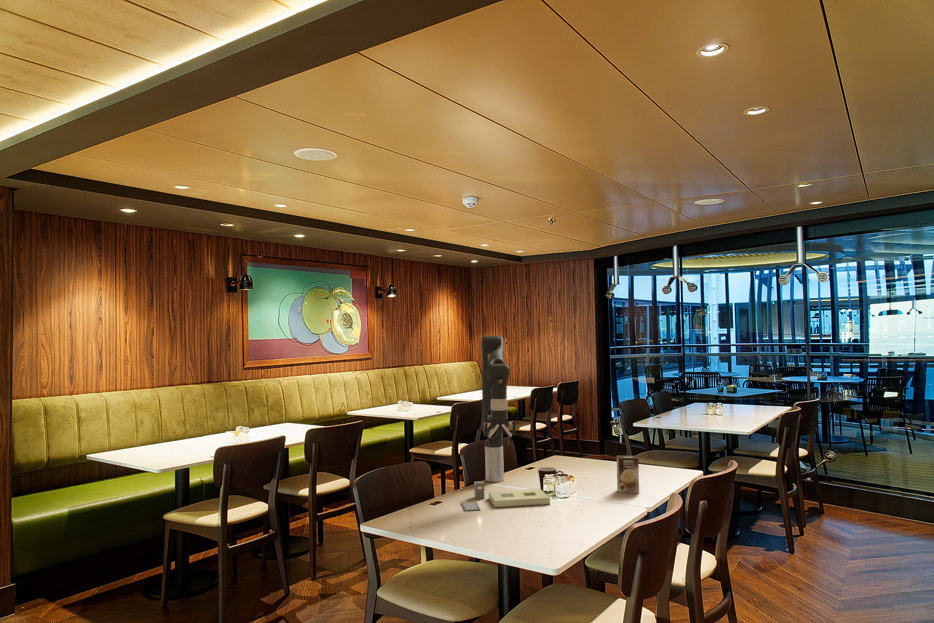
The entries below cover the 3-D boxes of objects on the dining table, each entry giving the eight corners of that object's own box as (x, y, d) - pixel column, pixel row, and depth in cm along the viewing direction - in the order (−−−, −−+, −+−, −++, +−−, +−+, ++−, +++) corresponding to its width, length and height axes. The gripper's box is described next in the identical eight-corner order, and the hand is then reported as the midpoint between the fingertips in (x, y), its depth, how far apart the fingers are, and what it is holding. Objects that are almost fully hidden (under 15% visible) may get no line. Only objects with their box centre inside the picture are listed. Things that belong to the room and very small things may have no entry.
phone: (461, 504, 264) (460, 502, 264) (475, 504, 265) (475, 501, 265) (464, 512, 251) (464, 510, 251) (480, 512, 252) (480, 509, 252)
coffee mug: (536, 492, 281) (536, 470, 281) (540, 487, 289) (540, 466, 289) (561, 493, 277) (560, 471, 277) (564, 489, 285) (564, 467, 286)
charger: (474, 497, 274) (474, 481, 274) (483, 496, 275) (482, 481, 275) (475, 499, 270) (475, 483, 270) (484, 498, 271) (484, 483, 271)
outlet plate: (488, 498, 271) (488, 491, 271) (540, 495, 274) (540, 488, 274) (495, 508, 255) (494, 500, 255) (550, 504, 258) (549, 497, 258)
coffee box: (619, 493, 275) (618, 458, 276) (617, 490, 281) (615, 455, 282) (639, 493, 274) (638, 457, 275) (637, 490, 280) (635, 455, 281)
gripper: (512, 407, 273) (513, 443, 272) (481, 408, 271) (482, 444, 270) (516, 409, 266) (517, 446, 265) (484, 410, 263) (485, 447, 263)
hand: (500, 445), depth 268 cm, fingers open, 8 cm apart
